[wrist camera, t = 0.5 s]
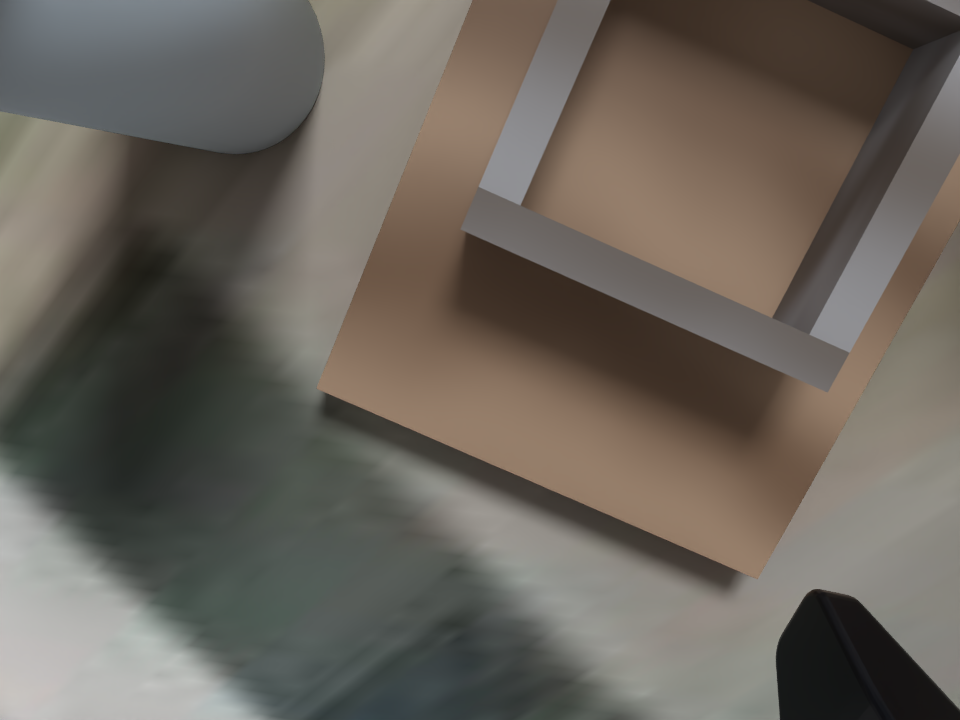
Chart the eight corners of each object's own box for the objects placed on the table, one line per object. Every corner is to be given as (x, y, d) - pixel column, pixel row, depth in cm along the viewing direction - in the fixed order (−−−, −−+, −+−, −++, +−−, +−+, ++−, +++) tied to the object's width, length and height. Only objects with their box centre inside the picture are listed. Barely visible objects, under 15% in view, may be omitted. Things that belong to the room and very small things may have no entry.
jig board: (744, 559, 22) (790, 629, 18) (327, 378, 21) (288, 413, 18) (1142, -157, 18) (1302, -251, 14) (641, -398, 17) (674, -559, 14)
